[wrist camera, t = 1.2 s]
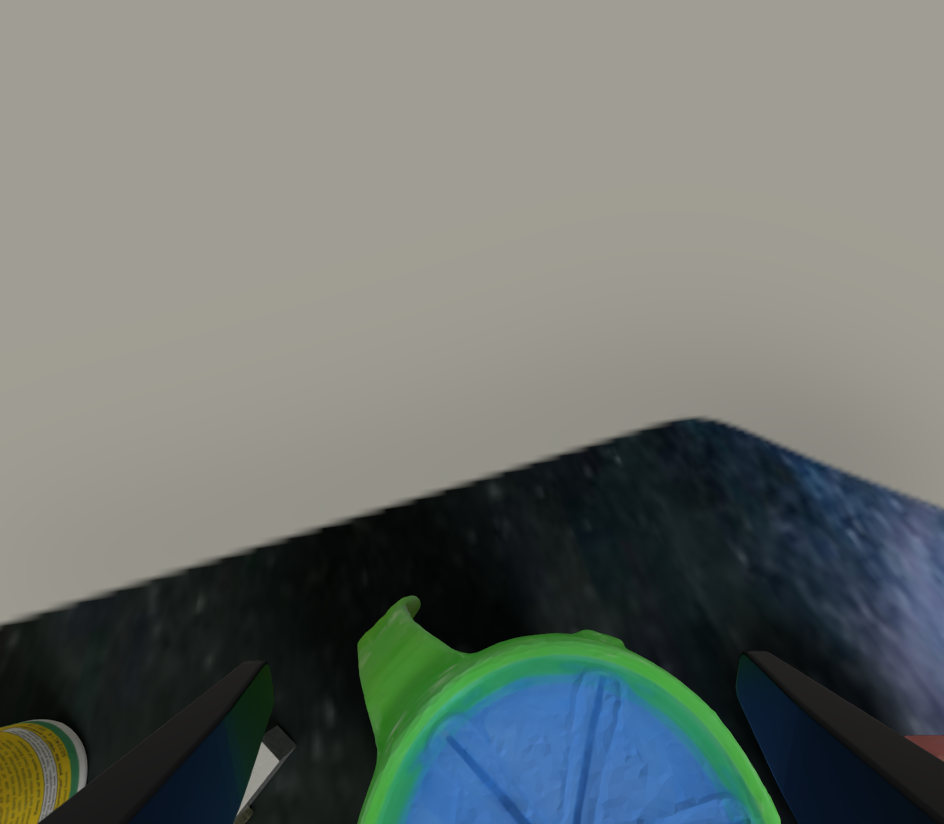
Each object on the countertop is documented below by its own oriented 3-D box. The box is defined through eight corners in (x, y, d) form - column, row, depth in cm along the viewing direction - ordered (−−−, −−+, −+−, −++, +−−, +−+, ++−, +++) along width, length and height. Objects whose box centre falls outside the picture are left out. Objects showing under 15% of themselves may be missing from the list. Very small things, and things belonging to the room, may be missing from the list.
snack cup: (739, 832, 18) (1028, 1074, 9) (553, 1075, 16) (692, 1784, 6) (497, 530, 23) (523, 483, 14) (319, 678, 20) (197, 749, 11)
